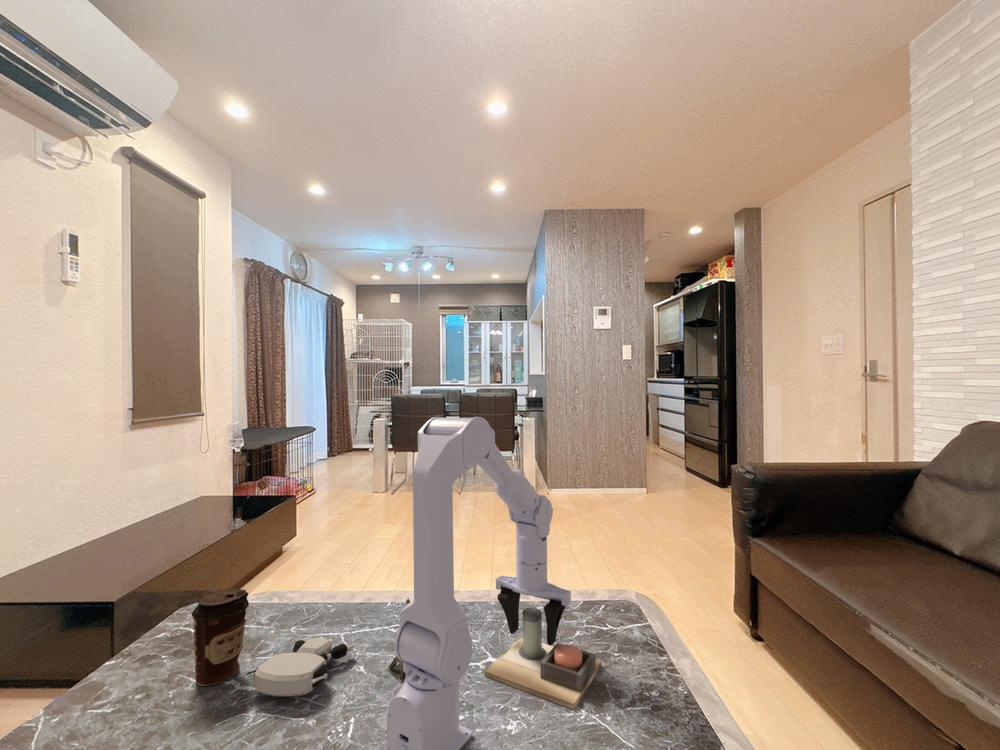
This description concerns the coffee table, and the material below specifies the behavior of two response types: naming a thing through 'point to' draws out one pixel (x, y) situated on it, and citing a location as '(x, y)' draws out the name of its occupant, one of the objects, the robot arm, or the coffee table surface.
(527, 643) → the green capped bottle
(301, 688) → the robot toy
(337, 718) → the coffee table surface
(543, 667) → the wooden base tray
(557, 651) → the button
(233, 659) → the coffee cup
